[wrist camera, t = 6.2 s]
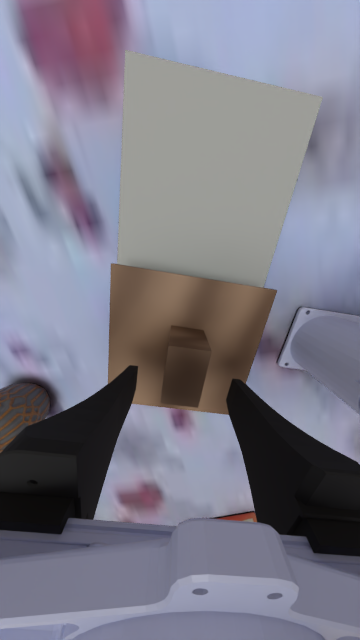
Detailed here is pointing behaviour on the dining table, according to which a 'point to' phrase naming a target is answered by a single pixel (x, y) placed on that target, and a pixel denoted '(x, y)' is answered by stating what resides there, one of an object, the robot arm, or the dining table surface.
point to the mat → (207, 169)
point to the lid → (183, 335)
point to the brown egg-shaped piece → (21, 409)
